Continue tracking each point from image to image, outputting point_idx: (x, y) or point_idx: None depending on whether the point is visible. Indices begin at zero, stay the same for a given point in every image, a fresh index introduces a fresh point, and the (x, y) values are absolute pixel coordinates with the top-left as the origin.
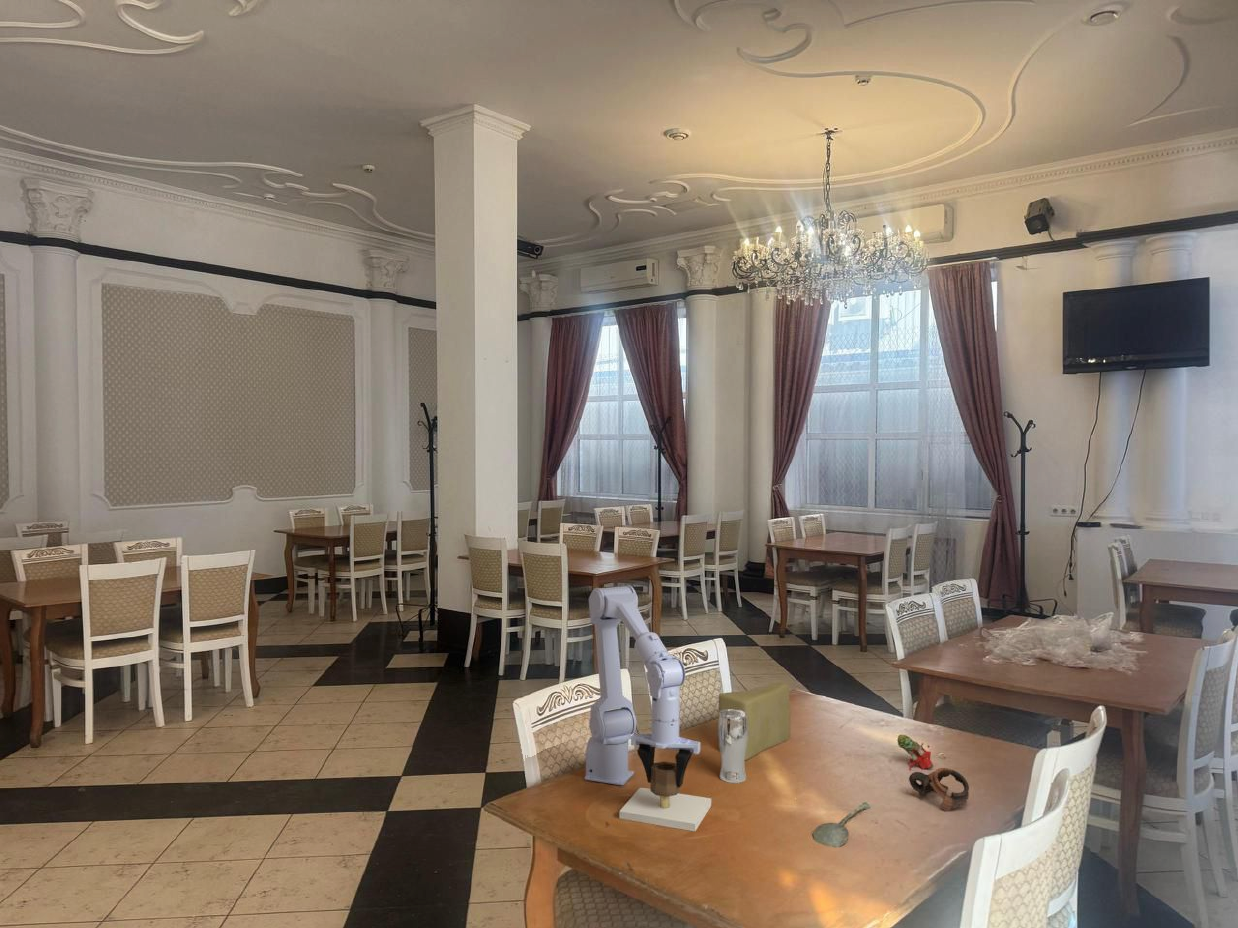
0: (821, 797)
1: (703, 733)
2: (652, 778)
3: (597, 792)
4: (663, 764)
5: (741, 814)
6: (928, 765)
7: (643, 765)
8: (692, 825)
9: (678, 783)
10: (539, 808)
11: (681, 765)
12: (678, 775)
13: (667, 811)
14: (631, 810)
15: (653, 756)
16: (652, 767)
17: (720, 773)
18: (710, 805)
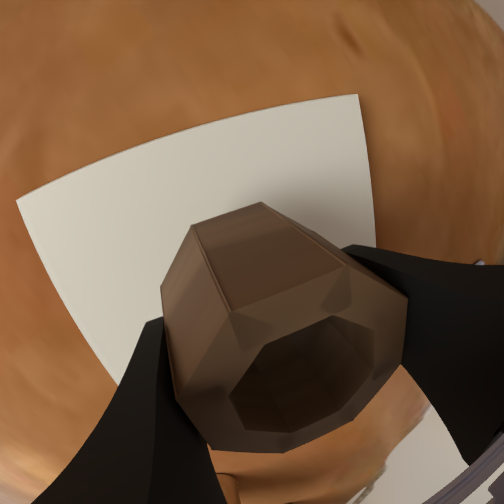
0: (33, 495)
1: (339, 499)
2: (339, 251)
3: (451, 225)
4: (341, 399)
5: (35, 392)
6: None
7: (454, 263)
8: (28, 193)
9: (146, 330)
10: (492, 69)
11: (96, 453)
12: (144, 369)
13: (185, 216)
14: (324, 124)
15: (432, 389)
16: (393, 300)
17: (230, 483)
18: None
